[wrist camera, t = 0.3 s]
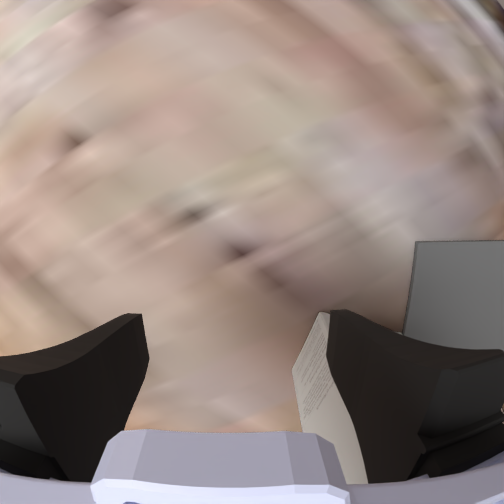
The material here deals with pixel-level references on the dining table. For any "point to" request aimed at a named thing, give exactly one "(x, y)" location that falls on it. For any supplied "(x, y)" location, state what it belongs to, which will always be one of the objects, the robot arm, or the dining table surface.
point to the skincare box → (326, 402)
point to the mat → (457, 294)
